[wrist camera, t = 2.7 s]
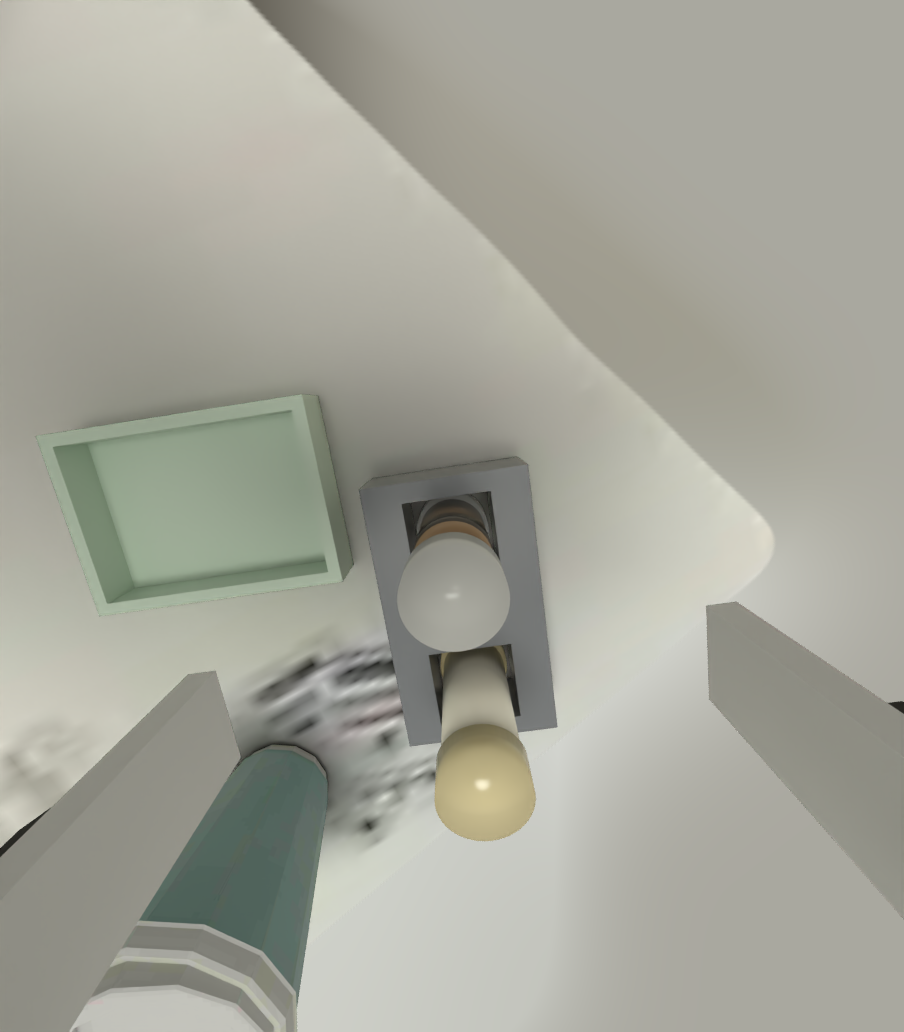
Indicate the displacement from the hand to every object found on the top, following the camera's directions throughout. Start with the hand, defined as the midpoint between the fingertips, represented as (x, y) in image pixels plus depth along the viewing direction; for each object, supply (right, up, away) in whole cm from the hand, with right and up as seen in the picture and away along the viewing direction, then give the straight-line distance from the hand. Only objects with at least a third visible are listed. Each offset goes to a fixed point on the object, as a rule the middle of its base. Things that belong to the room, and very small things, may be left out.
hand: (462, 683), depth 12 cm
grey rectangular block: (0, 0, +17) cm, 17 cm away
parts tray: (-15, +5, +16) cm, 22 cm away
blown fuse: (0, +4, +16) cm, 17 cm away
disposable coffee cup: (-13, -15, +21) cm, 29 cm away
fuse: (+1, -5, +18) cm, 19 cm away
